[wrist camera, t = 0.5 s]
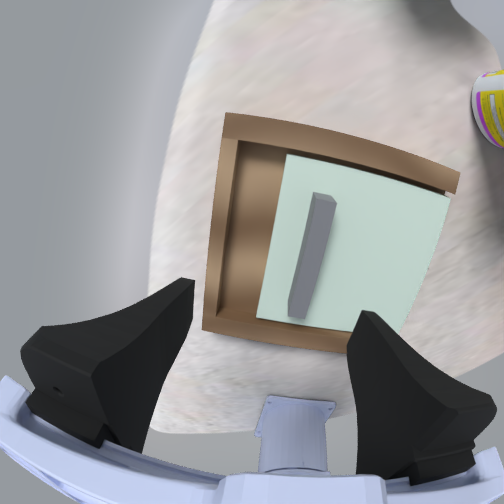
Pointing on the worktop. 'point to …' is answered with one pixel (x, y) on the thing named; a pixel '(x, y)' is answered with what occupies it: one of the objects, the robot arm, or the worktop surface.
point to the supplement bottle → (490, 106)
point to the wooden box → (264, 210)
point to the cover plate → (347, 245)
